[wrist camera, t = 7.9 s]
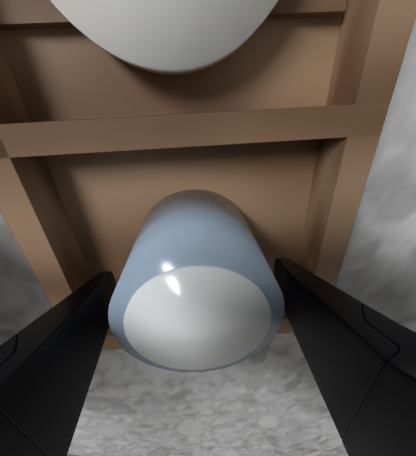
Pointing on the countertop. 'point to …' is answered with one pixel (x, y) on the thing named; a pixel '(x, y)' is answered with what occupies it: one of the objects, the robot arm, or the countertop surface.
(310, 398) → the countertop surface
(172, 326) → the white-capped blue cylinder
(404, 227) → the countertop surface
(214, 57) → the white smooth oval
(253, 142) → the rack
